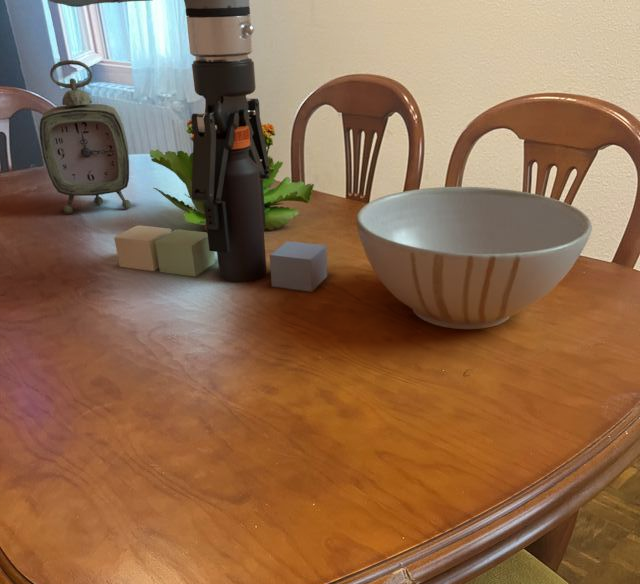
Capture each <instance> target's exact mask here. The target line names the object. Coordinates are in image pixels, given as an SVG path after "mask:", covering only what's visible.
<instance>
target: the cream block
mask: <svg viewBox="0 0 640 584" xmlns="http://www.w3.org/2000/svg"><path fill="white" fill-rule="evenodd" d="M172 232H173V231H172V229H171V228H167V227H160V226H159V227H158V226H149V225H139V224H138V225H135V226H133V227H131V228H129V229H128V230H126V231H123V232H121V233H120V234H118V235H115V236H114V237H113V238H114V245H115V248H116V254H117V258H118V264H119V267H120V268H127V269H129V268H130V269H136V270H143V271H151V272H155V271H156V270H158V269H159V263H158V257H157V251H156V245H155V242H156V241H157V240H159V239H161V238H163V237H164V236H166V235H168V234H170V233H172Z"/></svg>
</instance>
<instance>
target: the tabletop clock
mask: <svg viewBox="0 0 640 584" xmlns="http://www.w3.org/2000/svg"><path fill="white" fill-rule="evenodd" d="M68 65H75V66H79V67H82V68H83V69H86V71H87V72H88V73H89V78H88V79H86V80H84V81H82V82H77V80H76V78H73V77H71V78H70V79H69V83H64V82H60V81H58V80H56V79H55V77H54V72H55V71H56V69H58V68H60V67H62V66H68ZM49 76H50V79H51V81H52V82H53V83H55V84H56V85H57V86H58V87H62V88H65V89H70V90H67V91H65V93H64V94H63V97H62V100H61V101H62V102H61V106H55V107H53V108H50V109H49V110H47V111H45V112H44V113H43V115H42V116H41V118H40V122H39V140H40V141H39V142H40V147H41V153H42V158H43V161H44V164H45V167H46V170H47V174H48V176H49V179H50V181H51V184H52V185H53V187H54V188H55V190H56V191H57V193H59V194H62V195H65V196H68V200H67V201H68V202H67V204H65V205H64V206H63V211H64V213H65V214H67V215H71V214H72V213H73V211H74V209H73V206H72V203H73V200H74V197H86V196H88V197H89V196H91V197H92V196H93V197H94V196H95V197H94V199H93V202H94V204H95V205H96V206H101V205H102V204H103V202H104V200H103V198H102V196H101V195H107V194H115V193H116V194H117V195H118V197H119V198H120V199H121V201H122V202H121V205H122V207H123V209H125V210H128V209H130V208H131V206H132V203H131V202H130V200H128V199H126V198H125V196H124V194H123V193H122V190H125V189H126V188H128V184H129V180H130V157H129V156H130V154H129V145H128V141H127V136H126V132H125V129H124V124H123V121H122V120H121V117H120V115H119V113H118V111H117V109H116V108H115V107H113V106H110V105H107V104H101V103H93V100H92V98H91V96H90V95H89V94H88V93H87V92H86V91H85V90H82V89H79V88H83V87H86V86H87V85H89V84H90V83H91V82H92V80H93V72H92V70H91V68H90V67H89V66H88V65H87V64H86V63H85V62H82V61H80V60H74V59H66V60H61V61H58V62H57V63H55V64H53V66H52V67H51V69H50V72H49Z"/></svg>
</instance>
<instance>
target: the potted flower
mask: <svg viewBox="0 0 640 584" xmlns="http://www.w3.org/2000/svg"><path fill="white" fill-rule="evenodd" d="M261 125H262V130H263V135H264V139H265V144H266V149H267V154H268V159H269V164H270V169H269V172H270V176H269V179H262V180H263V192H264V207H265V221H266V227H264V231H266V230H267V229H268V230H269V231H272V230H275V228H276V229H278V228H282V227H283V225H287V224H288V222H289V221H291V220H293V218H294V217H297V216H298V214H299V213H300V212H299V211H298V210H297V209H296V208H291V207H288V206H286V207H284V206H279V205H284V203H283V202H300V203H305V204H309V203H310V201H311V199H312V193H313V190H314V187H315V183H307V184H305V182H304V181H302V180H300V181H296V182H291V180H292V179H291V178H290V177H289V176H286V177H284V179H282V181H281V182H280V183H279V184H278V185H277V186H276V187H275V188H271V186H272V185H273V184H275V182H276V177H277V175H278V173H279V171H280V169H281V168H282V166H283V165H284V162H283V161H280V160H278V161H276V162H274V158H273V157H272V155H269V151H270V146H274V144H273V143H274V142H273V141H274V140H273V137H272V136H276V132H275V130H274V129H275V127H274V125H273V124H270V123H264V122H263V123H261ZM186 127H187V129H186V133H187V134H191V136H190V141H192V142H193V137H194V135H193V127H192V120H191V119H190V120H188V122H186ZM164 153H165V154H164ZM164 153H163V152H162V151H161V150H159V149H155V150H154V149H152V150H151V149H150V151H149V157H150V159H151V162H153V163H155V164H158V165H160V166H162V167H164V168H166V169H168V170H169V171H171V172H172V173H174V174H175V175H176V176H177V177H178V179H179V180H181V182H182V183H183V184H184V185H185V186H186V187H185V188H186V189H187V193H188V194H186V193H184V196H186V197H187V198H189V199H190V200H191V202H192V204H193V206H194V207H195V208H193V207H192V206H190V204H185V201H183V200H179V199H178V198H176V197H175V196H171V195H170V194H168V193H165V192H164V191H163V190H160V189H158V188H157V187H152V189H154V190H156V191H157V192H158V193H160V194H161V195H162V196H163V197H164V198H165V199H167V200H168V201H169V202H171V203H172V204H173V205H174V206H176V207H177V208H178V209H180V210H182V211H184V212H185V213H183V214H182V215H183V217H184V221H185V222H187V223H189V224H196V225H201V226H203V228H204V230H205V232H207V226H206V219H205V218H206V217H205V211H204V204H203V203H202V202H196V201H194V200H193V199H192V167H193V152H191V153H189V154H188V152H185V151H184V150H178V151H177V152H176V151H172V150H168V151H166V152H164ZM261 162H262V160H261ZM270 188H271V189H270ZM281 202H282V203H281Z"/></svg>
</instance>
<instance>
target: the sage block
mask: <svg viewBox="0 0 640 584" xmlns="http://www.w3.org/2000/svg"><path fill="white" fill-rule="evenodd" d="M171 232H172V233H170V234H168V235H166V236H164V237H163V238H161V239H159V240H157V241H156V242H155V245H156V251H157V257H158V263H159V268H158V269H159V272H160V273H165V274H174V275H181V276H189V277H197V276H199V275H200V274H201V273H203V272H204V271H206V270H207V269H208V268H210V267H211V266H213V265H215V263H216V254H215V252H214V251H209V243H208V234H207V231H197V230H187V229H186V230H185V229H178V228H177V229H175V230H173V231H171Z"/></svg>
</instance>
